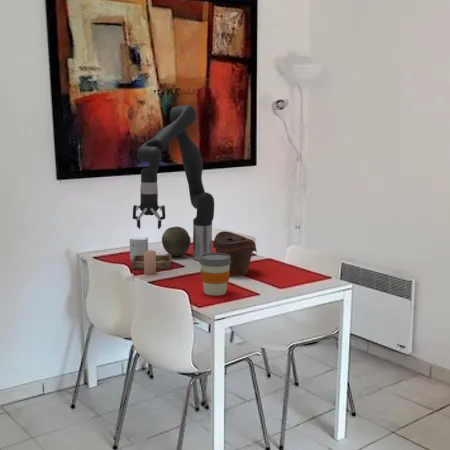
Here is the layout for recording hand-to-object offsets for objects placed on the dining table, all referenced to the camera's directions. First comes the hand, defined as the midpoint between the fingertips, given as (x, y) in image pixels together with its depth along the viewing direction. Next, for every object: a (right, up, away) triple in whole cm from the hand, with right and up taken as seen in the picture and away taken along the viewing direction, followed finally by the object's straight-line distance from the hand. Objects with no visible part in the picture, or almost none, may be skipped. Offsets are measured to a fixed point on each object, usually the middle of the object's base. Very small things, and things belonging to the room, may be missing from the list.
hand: (149, 228), depth 276 cm
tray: (-1, -18, +16) cm, 24 cm away
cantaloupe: (+9, -14, +36) cm, 40 cm away
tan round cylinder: (0, -20, +4) cm, 21 cm away
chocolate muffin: (+38, -20, +7) cm, 43 cm away
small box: (-8, -15, +30) cm, 35 cm away
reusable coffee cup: (+30, -26, -23) cm, 46 cm away
